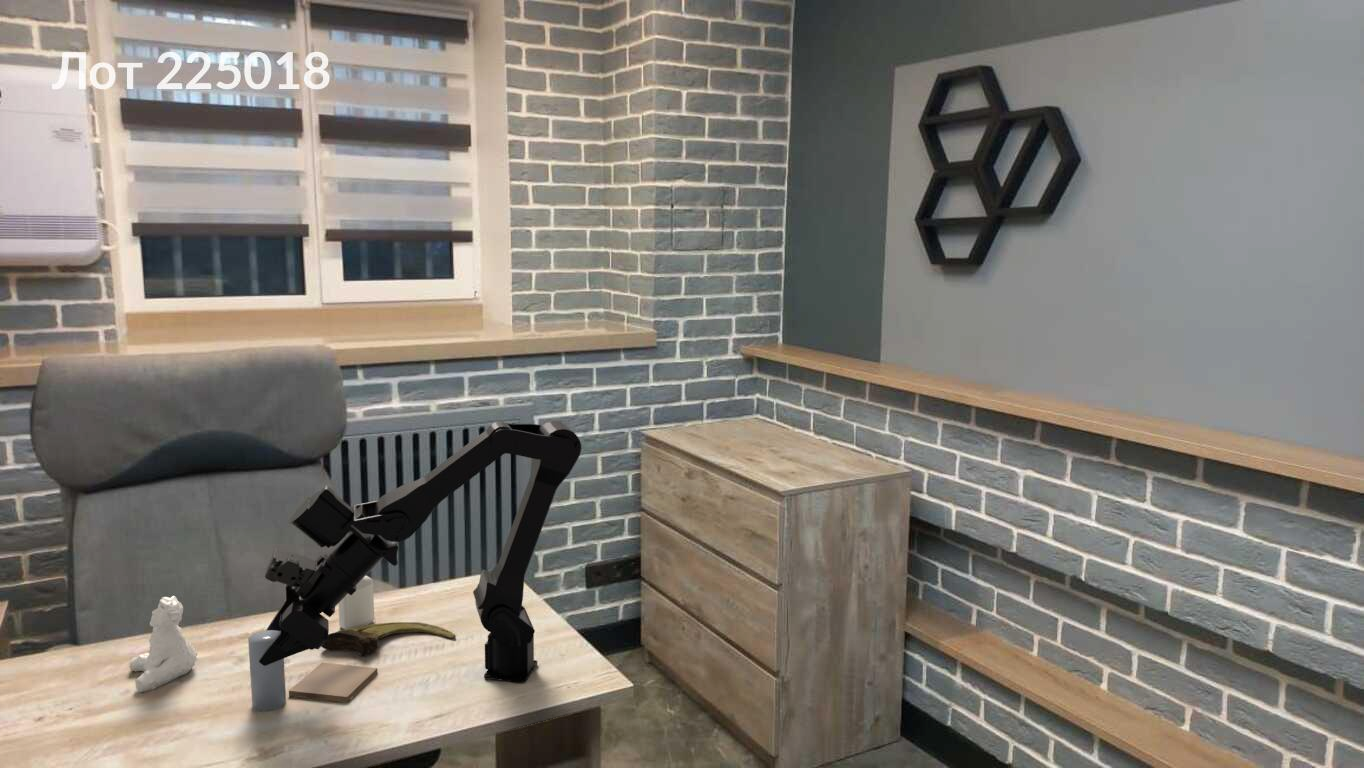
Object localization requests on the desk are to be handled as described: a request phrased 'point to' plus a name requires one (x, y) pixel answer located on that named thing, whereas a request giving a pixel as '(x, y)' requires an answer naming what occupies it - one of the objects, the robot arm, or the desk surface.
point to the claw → (376, 635)
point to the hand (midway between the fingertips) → (264, 649)
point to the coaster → (333, 682)
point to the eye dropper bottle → (357, 606)
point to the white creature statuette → (164, 648)
